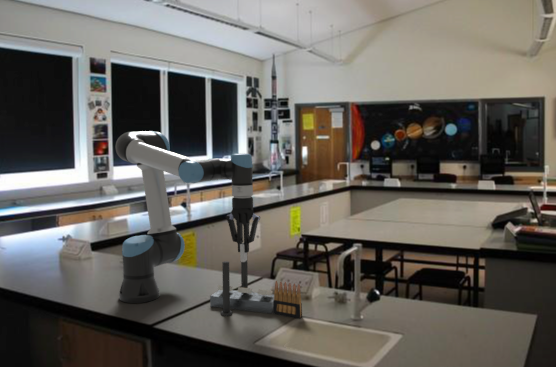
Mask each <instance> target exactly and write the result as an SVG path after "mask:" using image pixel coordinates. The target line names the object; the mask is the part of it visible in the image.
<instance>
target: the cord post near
mask: <svg viewBox="0 0 556 367" xmlns="http://www.w3.org/2000/svg"><path fill="white" fill-rule="evenodd" d="M221 268H222V285H223V308H222V310H221V311H220V316H222V317H229V316H232V315H233V311H232V309H230V286H231V285H230V261H228V260H226V261H222V267H221Z"/></svg>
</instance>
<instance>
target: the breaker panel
mask: <svg viewBox="0 0 556 367" xmlns="http://www.w3.org/2000/svg"><path fill="white" fill-rule="evenodd" d="M273 301H274V293H272V296H271V295H260V294H258V292H253V291H252V293H241V292H238V290H233V289H232V291H230V310H238V311H246V312H252V313H253V312H254V313H263V314H264V313H265V314H270V315H273ZM209 304H210V305H209V306H210V307H212V308H220V309H221V308H222V309H223V291H222V290H218V289H217V290H216V291H215V292H214V293H213V294H211V295H209Z"/></svg>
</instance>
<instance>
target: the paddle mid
mask: <svg viewBox="0 0 556 367" xmlns="http://www.w3.org/2000/svg"><path fill="white" fill-rule="evenodd" d="M237 291H238V292H241V293H252V292H253V288H251V287H250V288H249V287H248V288H243V287H241V286H238V287H237Z"/></svg>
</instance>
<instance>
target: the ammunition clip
mask: <svg viewBox="0 0 556 367" xmlns="http://www.w3.org/2000/svg"><path fill="white" fill-rule="evenodd" d="M283 284H284V285H283ZM273 292H274V293H273V294H274V301H273V313H272V315H277V316H283V317H286V318H287V317H288V318H293V319H298V320H300V319H301V318H303V304H302V294H301V293H302V292H301V285H300V283H298V285H297V286H296V284H295V283H293V285H292V284H291V282H289V283H288V285H287V282H286V281H285V282H284V283H282V281H279V284H278V280H276V281H275V283H274V291H273Z"/></svg>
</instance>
